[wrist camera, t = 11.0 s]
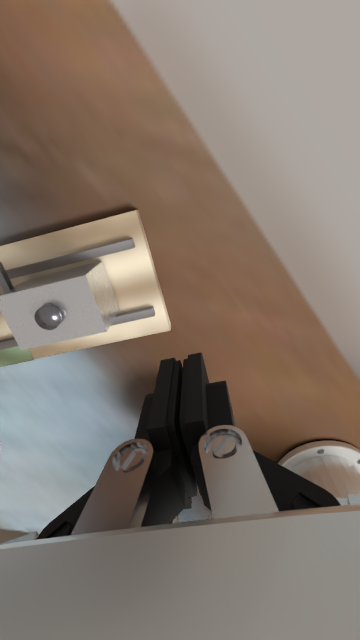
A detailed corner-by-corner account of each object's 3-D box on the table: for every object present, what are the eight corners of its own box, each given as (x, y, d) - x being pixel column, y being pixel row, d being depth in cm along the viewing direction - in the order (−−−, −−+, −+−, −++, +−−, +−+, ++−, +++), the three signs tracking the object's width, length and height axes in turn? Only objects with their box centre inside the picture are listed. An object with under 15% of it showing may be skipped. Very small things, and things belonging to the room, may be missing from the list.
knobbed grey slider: (119, 309, 29) (104, 336, 24) (46, 326, 30) (16, 354, 25) (93, 235, 26) (69, 246, 21) (13, 255, 27) (-29, 271, 22)
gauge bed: (171, 325, 32) (166, 361, 25) (-43, 370, 35) (-97, 413, 28) (138, 209, 27) (121, 215, 20) (-105, 273, 30) (-188, 297, 23)
